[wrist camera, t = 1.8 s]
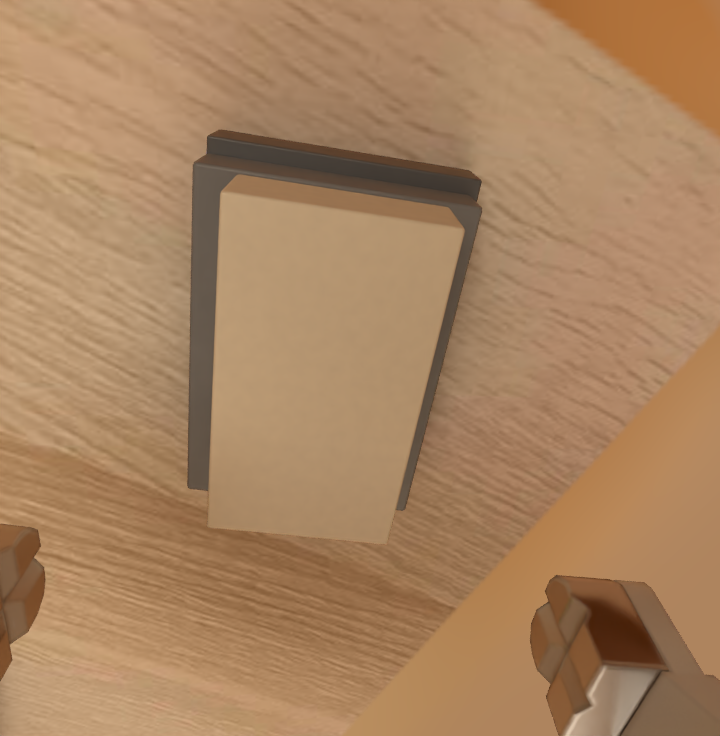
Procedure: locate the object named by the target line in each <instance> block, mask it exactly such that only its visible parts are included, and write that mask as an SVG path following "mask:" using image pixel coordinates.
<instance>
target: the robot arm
mask: <svg viewBox="0 0 720 736" xmlns="http://www.w3.org/2000/svg"><path fill="white" fill-rule="evenodd" d="M40 547H41V544H40V538H39V533H38V530H37V529H34V528H32V527H24V526H16V525H7V524H0V681H1V679H2V677H3V676H4V674H5V672H6V670H7V669H8V667H9V665H10V663H11V661H12V655H11V649H10V644H11V643H13V642H14V641H15V640H17V639H18V638H20V637H21V636H23V635H24V634H26V633H27V632H28V631H29V629H30V627H31V626H32V624H33V622H34V620H35V618H36V616H37V614H38V611H39V608H40V605H41V602H42V599H43V596H44V589H45V571H44V567H43V566H42V565H41V564H40V563H39V562H38V561H37V560H36V559H35V558H34V556H35V555H36V553H37V552H38V550H39V548H40ZM545 593H546V595H547V598H548V601H549V602H547V603H546V604H544V605H543V606H541V607H540V608H539V609H537V610H536V613H535V615H534V618H533V620H532V623H531V635H530V643H531V649H532V655H533V659H534V662H535V665H536V668H537V670H538V671H539V672H540V673H541V674H542V675H543V677H544V678H545V679H546V680H547V681H548V682H549V683H550V684H551V685H550V687H549V690H548V693H547V695H546V699H547V702H548V705H549V708H550V711H551V714H552V717H553V720H554V723H555V726H556V729H557V732H558V735H559V736H720V680H718V679H717V678H716V677H715V676H713V675H704V673H703V672H702V670H701V668H700V667H699V665H698V663H697V662H696V660H695V659H694V657H693V655H692V654H691V652H690V650H689V649H688V647H687V645H686V644H685V642H684V641H683V639H682V637H681V636H680V634H679V632H678V631H677V629H676V627H675V626H674V624H673V623H672V621H671V619H670V617H669V616H668V614H667V613H666V611H665V609H664V608H663V606H662V604H661V603H660V601H659V599H658V598H657V596H656V595H655V593H654V591H653V590H652V589H651V588H650V587H649V586H648V585H647V584H645V583H644V582H631V581H620V580H613V581H612V580H610V579H596V578H585V577H572V576H560V575H556V576H555V577H553V578H552V579H551V580H550V581H549V583H548V585H547V588H546V590H545Z"/></svg>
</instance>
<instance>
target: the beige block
mask: <svg viewBox="0 0 720 736" xmlns="http://www.w3.org/2000/svg"><path fill="white" fill-rule="evenodd" d="M464 233H465V229H464V227H463V226H462V225H461V223H460V222H459V221H458V219H457V218H456V217H455V215H454V214H453V212H452V211H451V210H450V208H448V207H444V206H437V205H431V204H425V203H418V202H412V201H406V200H399V199H393V198H387V197H380V196H374V195H368V194H361V193H355V192H349V191H342V190H336V189H330V188H323V187H317V186H311V185H304V184H298V183H292V182H285V181H279V180H273V179H266V178H260V177H254V176H247V175H241V174H239V175H236V176H235V177H234V178H233V180H232V181H231V182H230V183H229V184H228V185H227V186H226V187H225V188H224V189H223V190H222V191H221V193H220V209H219V234H218V259H217V284H216V309H215V335H214V360H213V385H212V410H211V435H210V460H209V486H208V511H207V526H208V527H209V528H218V529H228V530H238V531H249V532H259V533H269V534H280V535H290V536H300V537H311V538H321V539H331V540H342V541H352V542H363V543H373V544H383V545H386V544H387V543H388V539H389V535H390V531H391V527H392V523H393V519H394V515H395V511H396V507H397V503H398V499H399V495H400V491H401V487H402V483H403V479H404V475H405V471H406V467H407V463H408V459H409V455H410V451H411V447H412V443H413V439H414V435H415V430H416V426H417V422H418V418H419V414H420V410H421V406H422V402H423V398H424V394H425V390H426V386H427V382H428V378H429V374H430V370H431V366H432V362H433V358H434V354H435V350H436V346H437V342H438V338H439V334H440V330H441V326H442V322H443V318H444V313H445V309H446V305H447V301H448V297H449V293H450V289H451V285H452V281H453V277H454V273H455V269H456V265H457V261H458V257H459V253H460V249H461V245H462V241H463V237H464Z"/></svg>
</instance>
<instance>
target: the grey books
mask: <svg viewBox="0 0 720 736" xmlns="http://www.w3.org/2000/svg"><path fill="white" fill-rule="evenodd" d="M239 174H241V175H247V176H254V177H260V178H266V179H273V180H279V181H285V182H292V183H298V184H304V185H311V186H317V187H323V188H330V189H336V190H342V191H349V192H355V193H361V194H368V195H374V196H380V197H387V198H393V199H399V200H406V201H412V202H418V203H425V204H431V205H437V206H444V207H448V208H450V210H451V211H452V212H453V214H454V215H455V217H456V218H457V219H458V221H459V222H460V223H461V225H462V226H463V227H464V229H465V233H464V237H463V241H462V245H461V249H460V253H459V257H458V261H457V265H456V269H455V273H454V277H453V281H452V285H451V289H450V293H449V297H448V301H447V305H446V309H445V313H444V318H443V322H442V326H441V330H440V334H439V338H438V342H437V346H436V350H435V354H434V358H433V362H432V366H431V370H430V374H429V378H428V382H427V386H426V390H425V394H424V398H423V402H422V406H421V410H420V414H419V418H418V422H417V426H416V430H415V435H414V439H413V443H412V447H411V451H410V455H409V459H408V463H407V467H406V471H405V475H404V479H403V483H402V487H401V491H400V495H399V499H398V503H397V507H396V510H401V511H403V510H405V508H406V504H407V500H408V496H409V492H410V488H411V485H412V481H413V477H414V473H415V469H416V465H417V461H418V457H419V454H420V450H421V446H422V442H423V438H424V434H425V430H426V426H427V422H428V419H429V415H430V411H431V407H432V403H433V399H434V395H435V391H436V388H437V384H438V380H439V376H440V372H441V368H442V364H443V360H444V357H445V353H446V349H447V345H448V341H449V337H450V333H451V329H452V326H453V322H454V318H455V314H456V310H457V306H458V302H459V298H460V295H461V291H462V287H463V283H464V279H465V275H466V271H467V267H468V264H469V260H470V256H471V252H472V248H473V244H474V240H475V236H476V233H477V229H478V225H479V221H480V217H481V213H482V208H481V207H480V206H479V205H478V204H477V203H476V202H477V199H478V195H479V191H480V187H481V183H482V181H481V180H480V179H479V178H478V177H477V176H475V175H474V174H473V173H472V172H471V171H469V170H463V169H457V168H451V167H445V166H439V165H432V164H426V163H420V162H414V161H408V160H402V159H396V158H390V157H384V156H378V155H372V154H366V153H360V152H354V151H348V150H342V149H336V148H330V147H323V146H317V145H311V144H305V143H299V142H293V141H287V140H281V139H275V138H269V137H263V136H257V135H251V134H245V133H239V132H233V131H227V130H218V131H216V132H214V133H212V134H210V135H208V137H207V154H206V155H204V156H203V157H201V158H200V159H198V160H197V161H195V162H194V164H193V186H192V245H191V304H190V363H189V421H188V480H187V486H188V488H189V489H197V490H206V491H208V486H209V460H210V435H211V410H212V385H213V360H214V335H215V309H216V284H217V259H218V234H219V209H220V193H221V191H222V190H223V189H224V188H225V187H226V186H227V185H228V184H229V183H230V182H231V181H232V180H233V178H234V177H235V176H236V175H239Z"/></svg>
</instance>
